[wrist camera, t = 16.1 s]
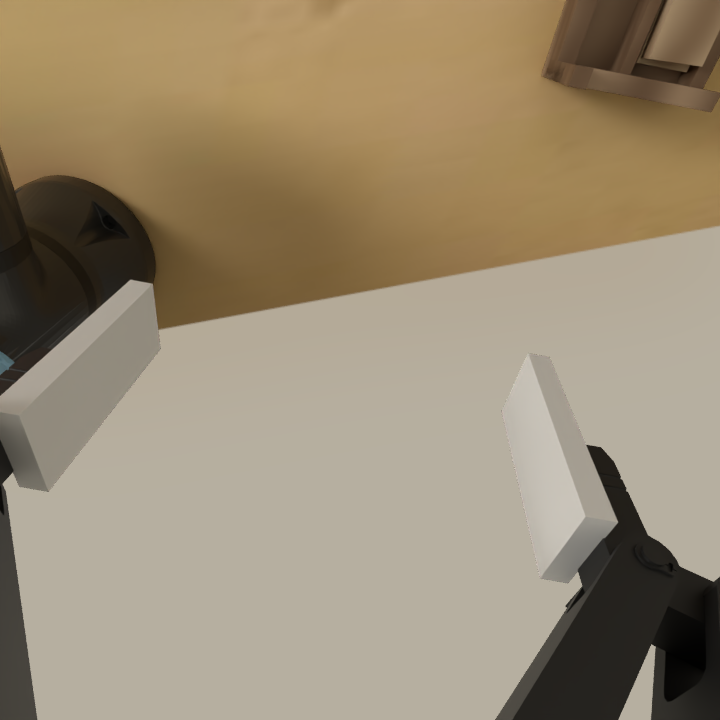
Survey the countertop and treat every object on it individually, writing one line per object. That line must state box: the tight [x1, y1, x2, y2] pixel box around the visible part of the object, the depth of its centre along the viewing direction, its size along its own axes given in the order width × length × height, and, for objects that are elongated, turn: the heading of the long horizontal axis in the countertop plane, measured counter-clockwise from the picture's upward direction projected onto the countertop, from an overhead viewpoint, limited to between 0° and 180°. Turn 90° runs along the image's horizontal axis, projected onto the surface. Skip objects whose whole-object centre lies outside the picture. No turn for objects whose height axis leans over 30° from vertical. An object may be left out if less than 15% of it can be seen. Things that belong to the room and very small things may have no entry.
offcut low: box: [636, 0, 690, 72], centre depth 33 cm, size 4×8×2 cm, turn 171°
